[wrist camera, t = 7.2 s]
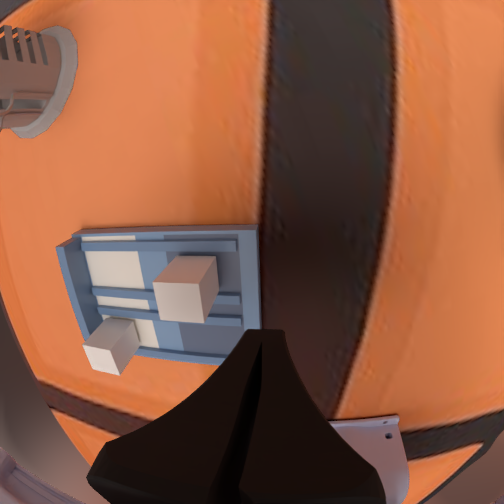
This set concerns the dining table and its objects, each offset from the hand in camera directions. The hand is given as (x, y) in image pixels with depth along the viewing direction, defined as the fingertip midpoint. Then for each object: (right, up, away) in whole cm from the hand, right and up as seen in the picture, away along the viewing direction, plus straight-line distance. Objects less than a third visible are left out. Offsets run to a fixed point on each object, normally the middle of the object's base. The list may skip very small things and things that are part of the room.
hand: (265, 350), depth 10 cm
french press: (-17, +17, +5) cm, 24 cm away
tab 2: (-4, +2, +7) cm, 8 cm away
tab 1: (-10, -2, +9) cm, 14 cm away
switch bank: (-6, +1, +9) cm, 11 cm away
